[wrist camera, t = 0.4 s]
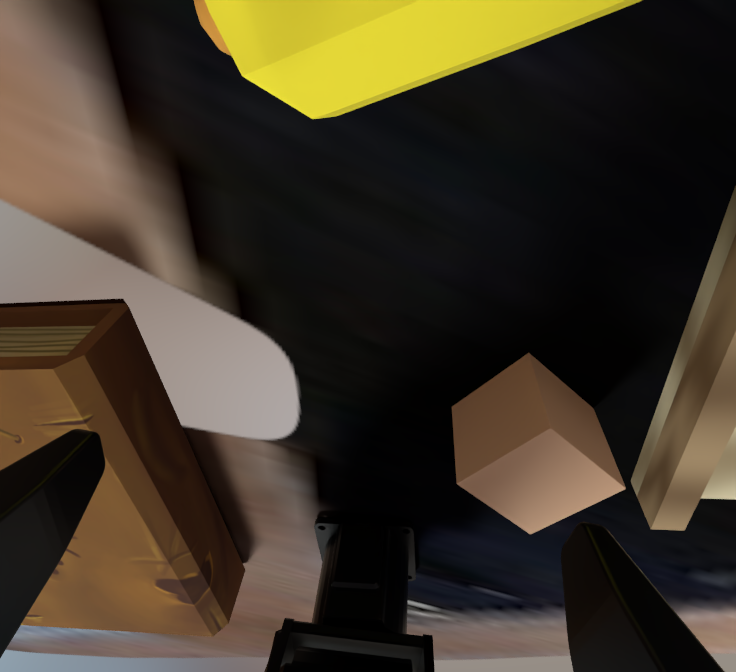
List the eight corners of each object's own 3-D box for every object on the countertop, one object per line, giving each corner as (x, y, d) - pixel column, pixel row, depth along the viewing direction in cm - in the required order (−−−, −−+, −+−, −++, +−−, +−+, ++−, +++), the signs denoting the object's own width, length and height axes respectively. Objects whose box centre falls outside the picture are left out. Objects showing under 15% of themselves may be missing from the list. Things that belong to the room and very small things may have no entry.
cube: (592, 407, 25) (626, 488, 21) (514, 453, 27) (530, 534, 23) (528, 351, 23) (550, 428, 19) (451, 405, 25) (456, 483, 21)
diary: (249, 555, 37) (224, 637, 32) (30, 547, 40) (-23, 622, 35) (137, 297, 24) (67, 372, 19) (-181, 309, 26) (-311, 379, 22)
